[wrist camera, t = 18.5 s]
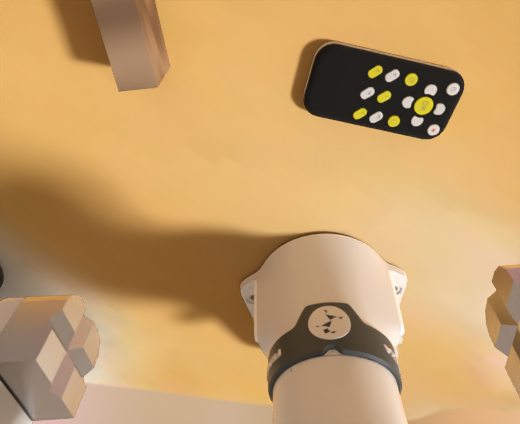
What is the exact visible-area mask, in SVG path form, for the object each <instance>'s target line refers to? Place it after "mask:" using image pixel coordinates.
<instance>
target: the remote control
mask: <svg viewBox="0 0 520 424" xmlns="http://www.w3.org/2000/svg"><path fill="white" fill-rule="evenodd" d="M463 90H464V80H463V78H462V76H461V75H460V74H459V73H458V72H457V71H456V70H454V69H452V68H449V67H444V66H440V65H436V64H431V63H427V62H423V61H419V60H414V59H410V58H406V57H401V56H397V55H393V54H388V53H384V52H380V51H376V50H371V49H367V48H363V47H358V46H354V45H350V44H346V43H341V42H336V41H331V42H327V43H325V44H323V45H321V46H320V47H319V48H318V49H317V51H316V53H315V55H314V58H313V61H312V65H311V69H310V72H309V76H308V79H307V83H306V86H305V90H304V95H303V100H304V105H305V107H306V109H307V110H308V112H309V113H311V114H312V115H315V116H318V117H323V118H327V119H332V120H337V121H341V122H346V123H351V124H355V125H360V126H365V127H369V128H374V129H379V130H383V131H388V132H392V133H397V134H402V135H406V136H411V137H416V138H420V139H432V138H434V137H437V136H438V135H440V134H441V133H442V132H443V130H444V129H445V127H446V125H447V123H448V121H449V119H450V117H451V115H452V113H453V111H454V109H455V107H456V105H457V103H458V101H459V99H460V97H461V95H462V93H463Z"/></svg>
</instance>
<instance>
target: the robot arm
mask: <svg viewBox="0 0 520 424" xmlns="http://www.w3.org/2000/svg"><path fill="white" fill-rule="evenodd" d="M492 283H493V285H494V286H495V288H496V290H497V291H496V292H494V293H493V294H492V295H491V296H490V297H489V298H488V299H487V304H486V310H485V314H486V325H487V328H488V332H489V335H490V337H491V340H492V342H493V344H494V346H495V347H496V348H497V349H498V350H500V351H501V352H503V353H504V354H505V355H507V356H508V359H507V362H506V366H505V369H506V371H507V373H508V375H509V377H510V379H511V381H512V383H513V385H514V387H515V389H516V391H517V393H518V395H519V397H520V265H506V266H498V268H497V269H496V270H495V271H494V275H493V279H492ZM406 285H407V277H406V273H405V272H404V271H403V270H402V269H400V268H398V267H396V266H393V265H391V264H388V263H386V262H385V261H384V260H383V259H381V257H380V256H379V255H378V254H377V253H376V252H375V251H374V250H373V249H372V248H371V247H369V246H368V245H366V244H365V243H363V242H361V241H359V240H357V239H354V238H351V237H348V236H344V235H338V234H313V235H308V236H303V237H300V238H297V239H294V240H292V241H290V242H287V243H286V244H284V245H282V246H281V247H279V248H278V249H276V250H275V251H274V252H273V253H272V254H271V255H270V256H269V257H268V258H267V259H266V261H265V262H264V264H263V265H262V267H261V268H260V269H259V270H258V271H257V272H256V273H254V274H252V275H251V276H249V277H247V278H246V279H245V280H243V281H242V282H241V284H240V292H241V295H242V297H243V299H244V301H245V303H246V305H247V307H248V309H249V311H250V313H251V315H252V317H253V319H254V338H255V342H257V343H259V346H260V348H261V350H262V352H263V353H264V355H265V356H266V358H267V359H268V368H267V381H268V392H269V396H270V399H271V401H272V402H273V424H408V423H407V419H406V416H405V412H404V409H403V405H402V401H401V398H400V394H401V390H402V382H401V374H400V372H401V371H400V366H399V362H398V360H397V357H398V346H397V345H398V344H401V343H402V334H404V325H403V320H402V316H401V312H400V307H399V304H400V301H401V298H402V296H403V293H404V290H405V287H406ZM252 295H254V296H252ZM85 310H86V306H85V304H84V302H83V300H82V299H81V297H80V296H77V295H58V296H34V297H22V298H5V299H3V300H2V301H0V424H33V422H32V421H39V420H54V419H68V418H74V417H75V415H76V412H77V410H78V407H79V405H80V402H81V399H82V397H83V394H84V392H85V389H86V385H85V382H84V379H83V377H84V376H85V375H86V374H87V373H88V372H89V371H91V370H92V369H93V368H94V366H95V363H96V360H97V357H98V354H99V344H100V339H99V334H98V330H97V328H96V325H95V323H94V322H93V321H91V320H90V319H88V318H87V317H85V316H84V315H83V314H84V312H85Z"/></svg>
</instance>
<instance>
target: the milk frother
mask: <svg viewBox="0 0 520 424" xmlns="http://www.w3.org/2000/svg"><path fill="white" fill-rule="evenodd" d="M2 283H3V273H2V270H1V268H0V287H1V286H2Z"/></svg>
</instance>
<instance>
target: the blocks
mask: <svg viewBox="0 0 520 424" xmlns="http://www.w3.org/2000/svg"><path fill="white" fill-rule="evenodd" d="M90 1H91V4H92V7H93V10H94V14H95V17H96V20H97V23H98V26H99V30H100V33H101V36H102V39H103V42H104V45H105V49H106V52H107V55H108V58H109V61H110V65H111V68H112V71H113V74H114V77H115V80H116V84H117V87H118V90H119V92H120V91H129V90H138V89H147V88H156V87H158V86H159V84H160V82H161V81H162V79H163V78H164V76H165V74H166V73H167V71H168V69H169V68H170V63H169V59H168V54H167V50H166V46H165V42H164V38H163V33H162V29H161V25H160V21H159V17H158V12H157V8H156V4H155V0H90Z"/></svg>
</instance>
